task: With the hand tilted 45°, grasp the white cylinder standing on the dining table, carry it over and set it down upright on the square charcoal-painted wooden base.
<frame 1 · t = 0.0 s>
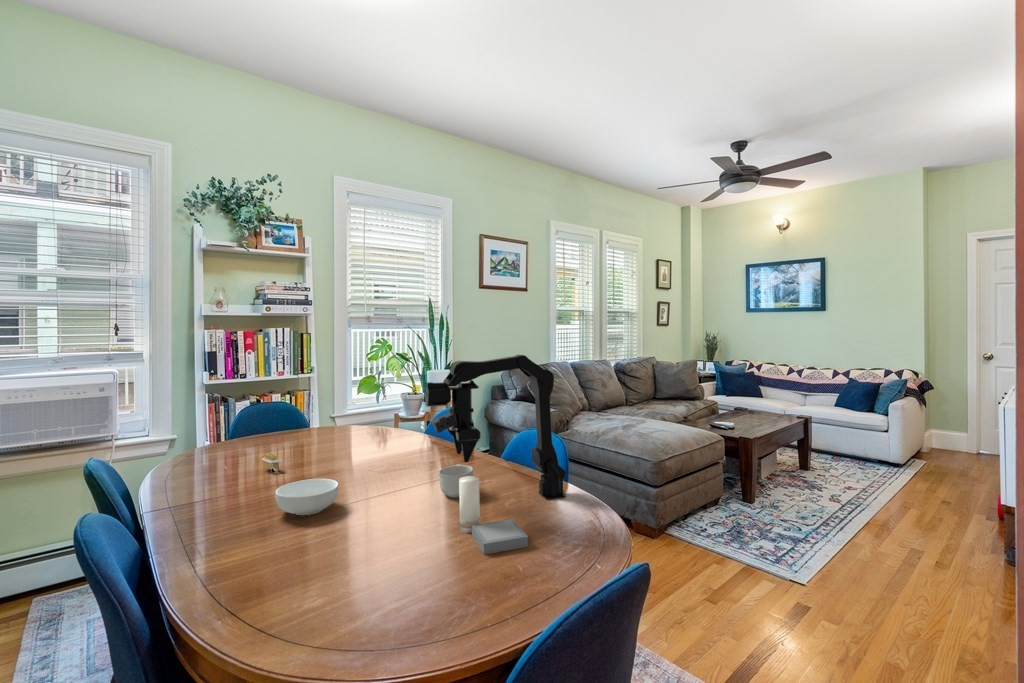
hand: (462, 457, 137), 15 cm above the table, tool pointing down, fingers open, 9 cm apart
cereal bowl: (308, 511, 136), on the table
teacup: (457, 493, 150), on the table
white cylinder: (469, 528, 123), on the table
base: (499, 540, 116), on the table
platform: (271, 472, 176), on the table
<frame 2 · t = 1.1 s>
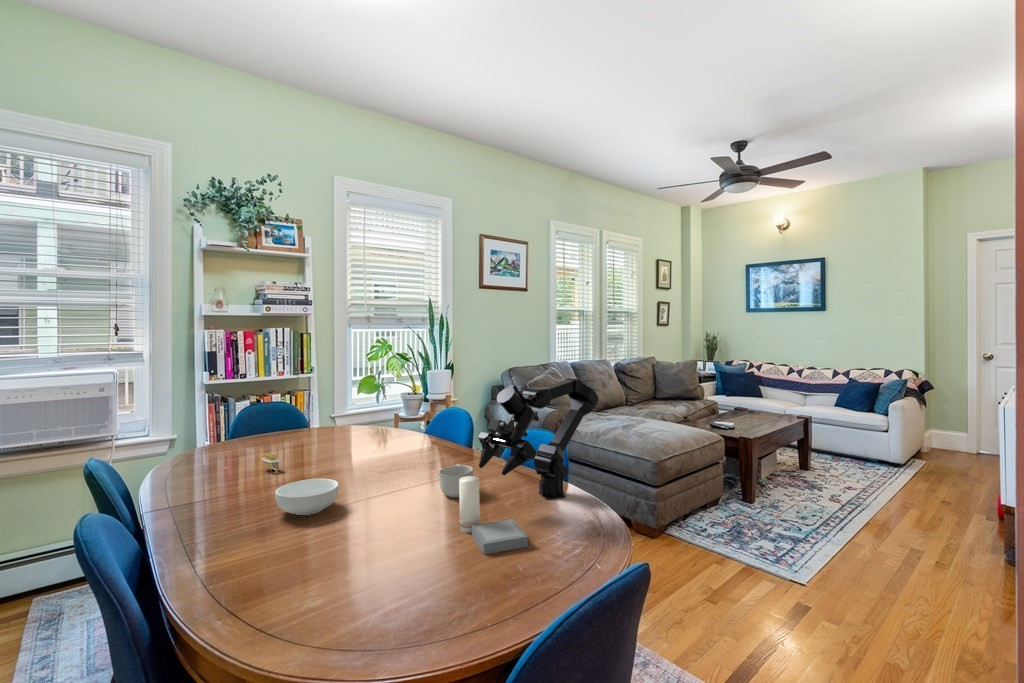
hand: (491, 470, 128), 13 cm above the table, tool tilted 45°, fingers open, 9 cm apart
nothing on the table moved.
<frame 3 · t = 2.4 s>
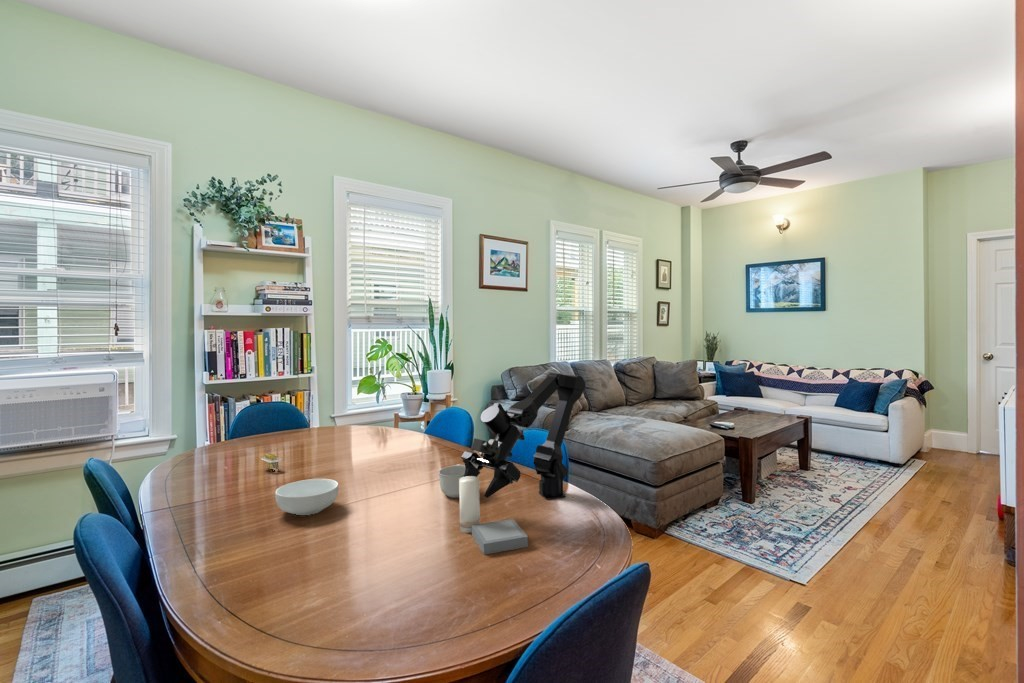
hand: (473, 492, 124), 9 cm above the table, tool tilted 45°, fingers open, 9 cm apart
nothing on the table moved.
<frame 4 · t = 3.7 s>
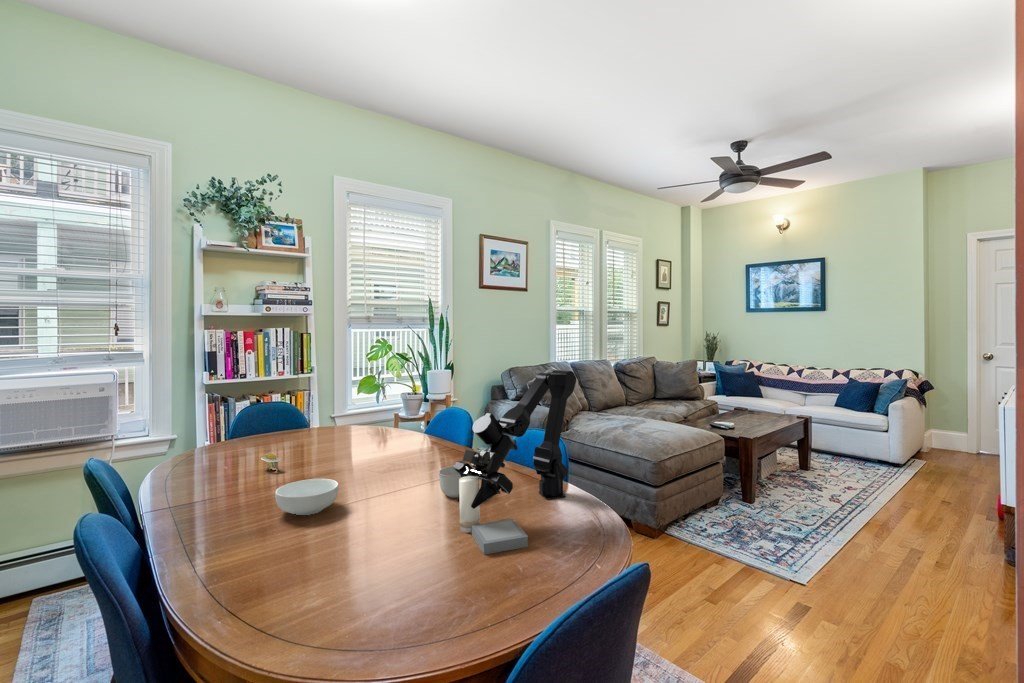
hand: (465, 504, 122), 7 cm above the table, tool tilted 45°, fingers closed on white cylinder, 5 cm apart
white cylinder: (469, 528, 123), on the table, touching gripper
everything else where it was.
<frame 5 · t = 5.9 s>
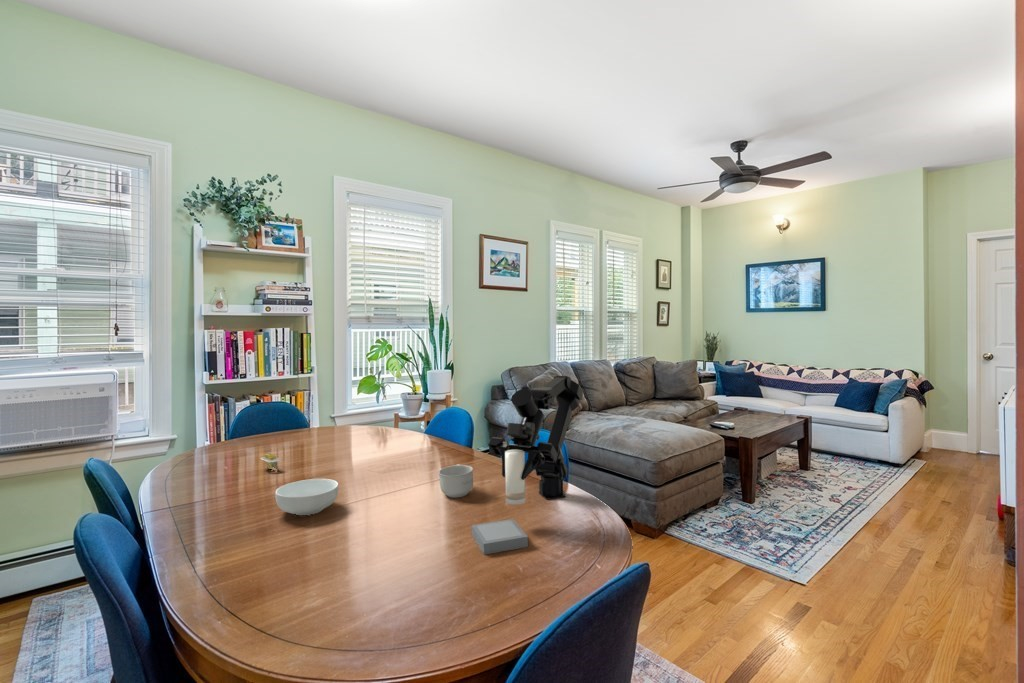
hand: (512, 477, 123), 13 cm above the table, tool tilted 45°, fingers closed on white cylinder, 5 cm apart
white cylinder: (515, 500, 124), point 7 cm above the table, touching gripper
when the fingers open (10 cm above the table, at t = 8.1 s): white cylinder drops 1 cm, resting on base.
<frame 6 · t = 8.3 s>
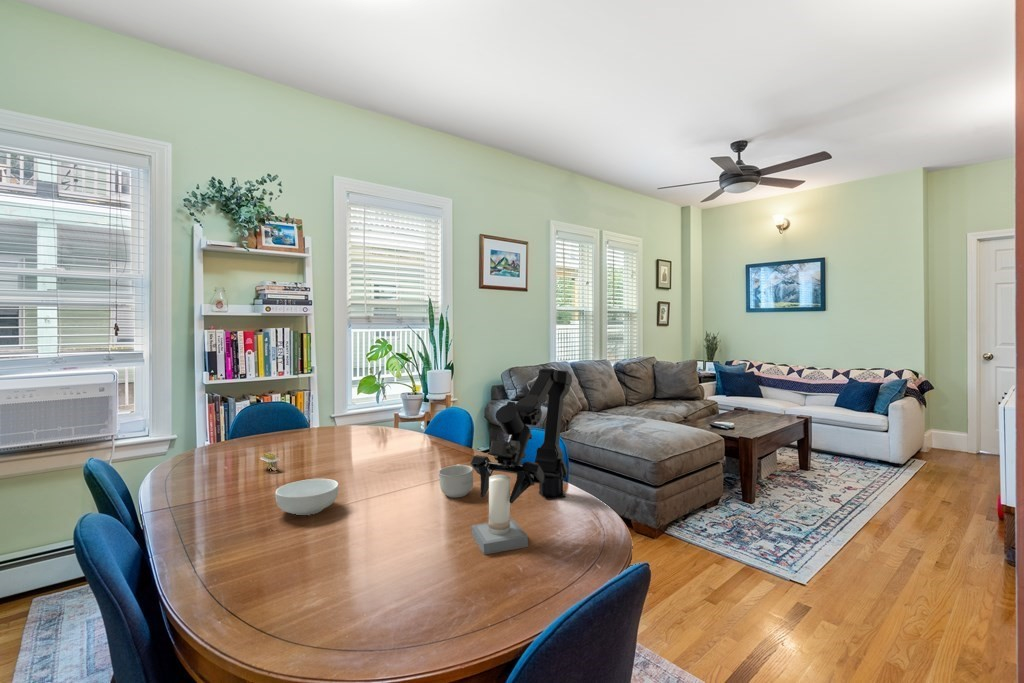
hand: (495, 500, 114), 11 cm above the table, tool tilted 45°, fingers open, 8 cm apart
white cylinder: (499, 529, 116), point 3 cm above the table, touching base
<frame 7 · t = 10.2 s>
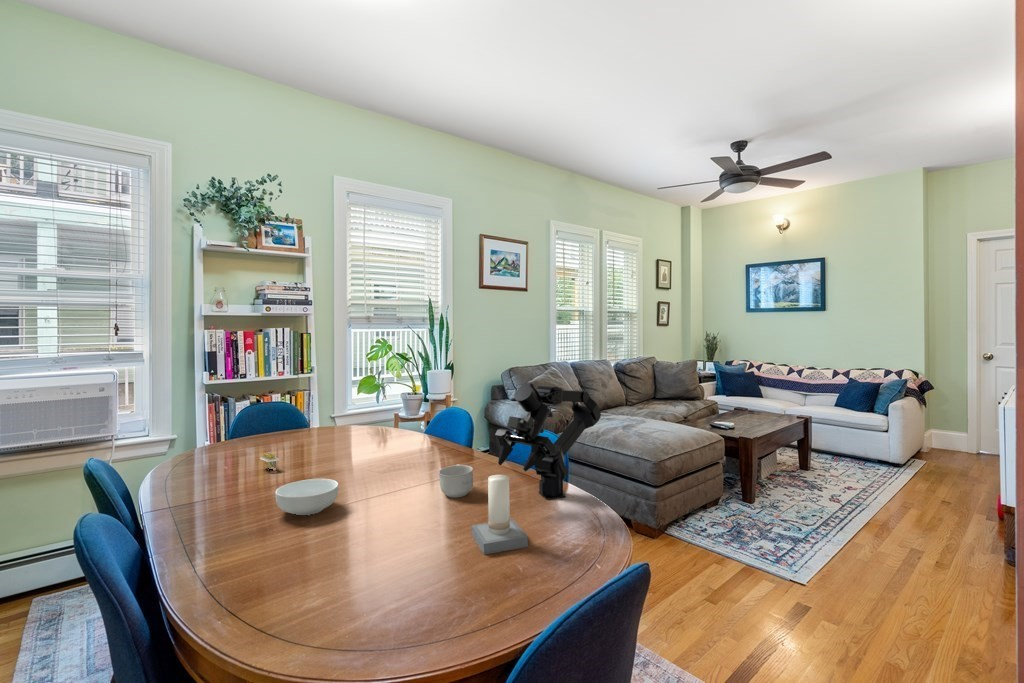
hand: (511, 467, 132), 13 cm above the table, tool tilted 45°, fingers open, 9 cm apart
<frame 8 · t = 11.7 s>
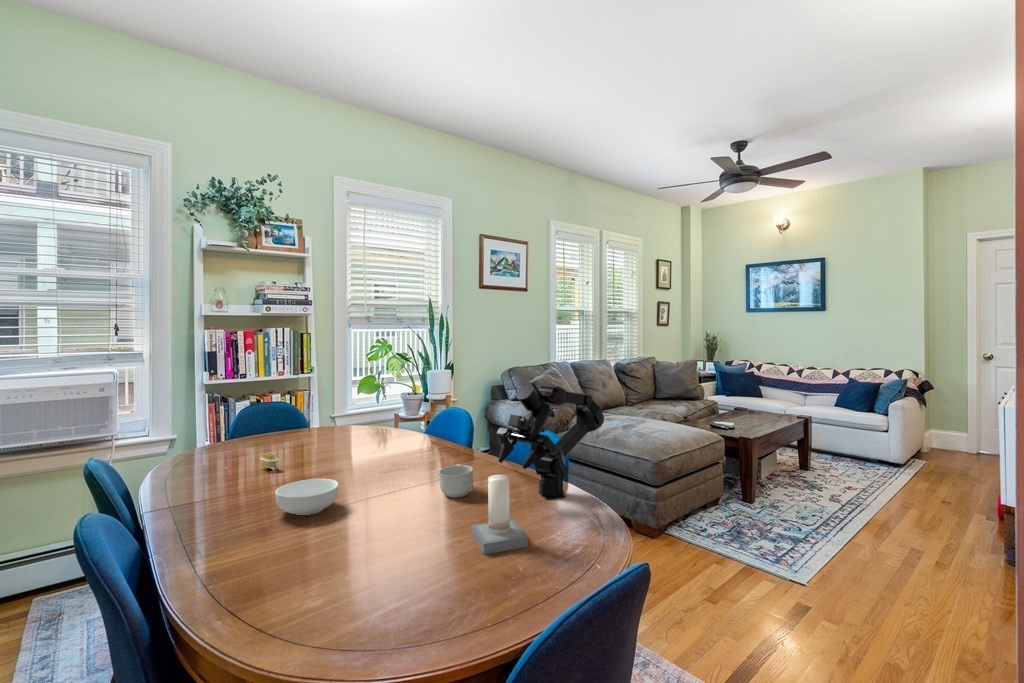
hand: (511, 465, 133), 14 cm above the table, tool tilted 45°, fingers open, 9 cm apart
at the end: white cylinder inside the target area on the base (0.1 cm from its centre), point 2.5 cm above the base's base; white cylinder tilted 0°; the gripper is holding nothing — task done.
